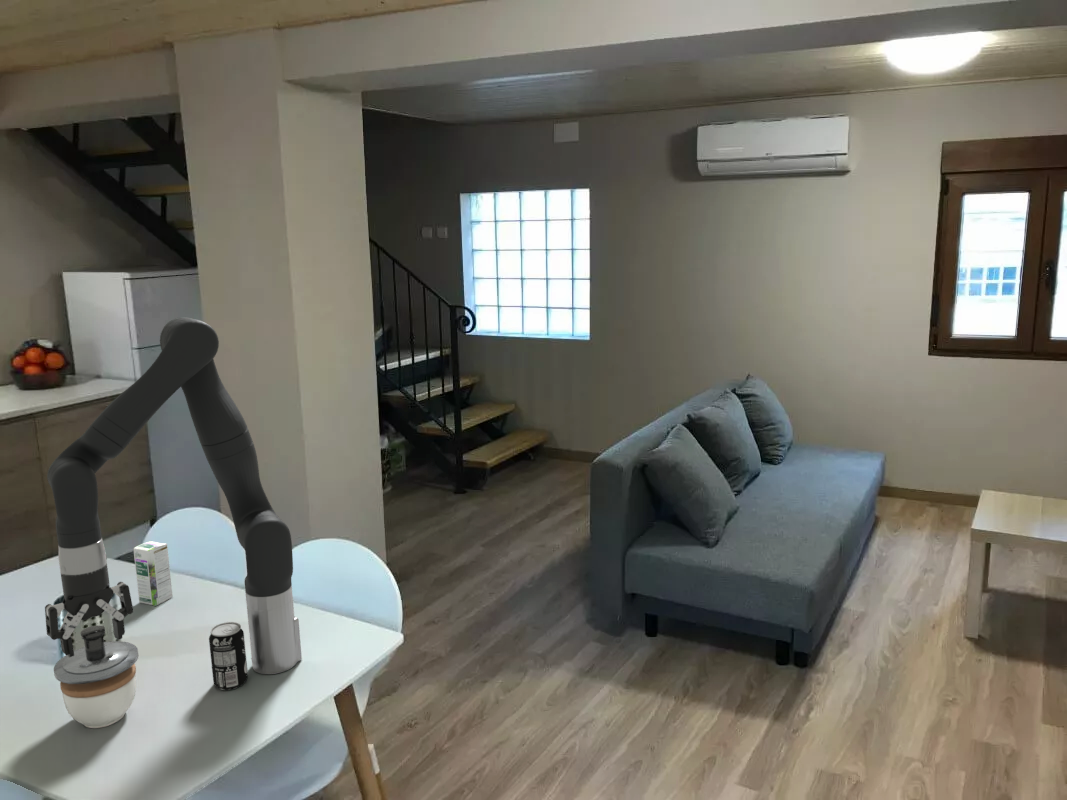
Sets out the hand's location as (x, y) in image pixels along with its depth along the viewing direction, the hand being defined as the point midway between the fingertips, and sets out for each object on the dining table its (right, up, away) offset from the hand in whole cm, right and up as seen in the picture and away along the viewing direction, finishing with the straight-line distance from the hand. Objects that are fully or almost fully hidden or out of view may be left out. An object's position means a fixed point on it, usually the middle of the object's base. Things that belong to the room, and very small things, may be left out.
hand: (94, 646), depth 154 cm
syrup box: (-13, -4, +53) cm, 55 cm away
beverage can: (+20, -12, +14) cm, 27 cm away
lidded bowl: (0, -15, +3) cm, 15 cm away
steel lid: (0, -4, +1) cm, 4 cm away
